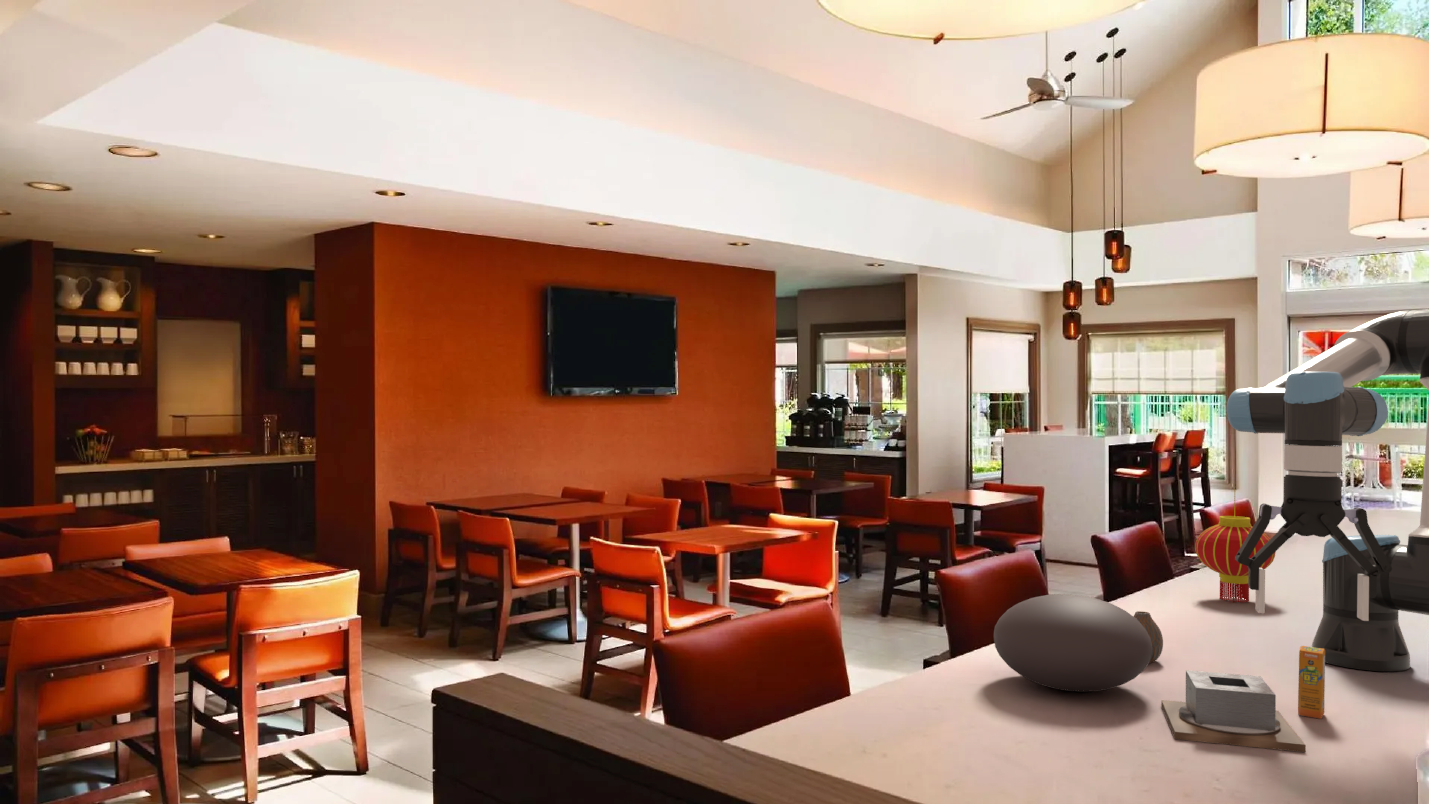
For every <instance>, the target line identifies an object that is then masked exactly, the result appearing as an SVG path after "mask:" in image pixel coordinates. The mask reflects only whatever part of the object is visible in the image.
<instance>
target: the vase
mask: <svg viewBox="0 0 1429 804" xmlns="http://www.w3.org/2000/svg"><path fill="white" fill-rule="evenodd" d="M1132 616H1133V617H1135V618H1136V619H1137V620H1138V621H1139V622H1140V623H1141V625H1142V626H1143V627H1144V628H1145V629H1146V631H1147V633H1148V635H1149V637H1150V638H1151V643H1152V653H1151V659H1150V662H1149V663H1148V664H1152V663H1155V662H1156V661H1157V660H1158V659H1159V658H1160V656H1161V654H1162V652H1163V648H1164V638H1163V634H1162V631H1161V629H1160V627H1159V626H1158V625H1157V623H1156V622H1155V620H1154V619H1153V617H1152V615H1151V613H1150V612H1148V611H1144V610H1143V611H1142V610H1141V611H1140V610H1139V611H1138V610H1137V611H1135V613H1134V614H1133V615H1132Z"/></svg>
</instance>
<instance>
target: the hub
mask: <svg viewBox="0 0 1429 804" xmlns="http://www.w3.org/2000/svg"><path fill="white" fill-rule="evenodd" d="M1276 697H1277V696H1276V693H1275V692H1274V691H1273V690H1272V689H1271V687H1270V686H1269V685H1268V683H1266V681H1265V680H1264V679H1263V678H1262V677H1261V676H1260V675H1249V674H1236V673H1227V672H1226V673H1224V672H1214V671H1213V672H1211V671H1202V670H1201V671H1200V670H1199V671H1198V670H1189V669H1188V670H1185V702H1186V705H1185V706H1182V707H1181V708H1180V709H1179V717H1180V718H1181V719H1182V720H1184V721H1185V722H1187V723H1189V724H1191V725H1194V726H1197V727H1200V728H1203V729H1207V730H1211V731H1216V732H1221V733H1227V734H1235V735H1248V736H1259V735H1269V734H1274V733H1276V732H1278V731H1279V730H1280V722H1279V721H1278V720H1277V719H1276V718H1275V714H1276V711H1277V710H1276V709H1277V708H1276V706H1277V705H1276V702H1277V701H1276V699H1277V698H1276Z"/></svg>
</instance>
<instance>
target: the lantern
mask: <svg viewBox="0 0 1429 804" xmlns="http://www.w3.org/2000/svg"><path fill="white" fill-rule="evenodd" d="M1233 497H1234V506H1233V507H1234V511H1233V512H1234V513H1233V514H1234V515H1220V516H1219V518H1218V519H1219V522H1218V524H1215V525H1212V526H1209V527H1208V528H1205V530H1203V531H1202V532H1201V533H1200V534H1199V535H1198V537H1197V538H1196V541H1195V543H1194V549H1195V553H1196V554H1195V555H1196V556H1197V557H1198V559H1199V561H1200V562H1201V563H1202V564H1204V566H1206V567H1207V568H1208V569H1210V570H1212V571H1213V572H1216V573H1218V575H1219V600H1220V599H1222V600H1223V601H1224V600H1225V601H1226V600H1227V601H1228V600H1229V602H1230V601H1232V602H1233V601H1234V603H1235V602H1237V603H1238V602H1239V603H1240V602H1241V603H1242V600H1243V599H1242V598H1244V600H1243V603H1244V602H1245V603H1246V602H1247V601H1249V602H1250V588H1249V585H1248V567H1247V566H1246V565H1243V564H1240V563H1239V562H1237V561H1236V560H1235V556H1236V555H1237V553H1238V551H1239V549H1240V548H1241V546H1242V544H1243V543H1244V541H1245V539H1246V537H1247V536H1248V534H1249V532H1250V531H1251V529H1252V527H1253V526H1252V524H1251V518H1250V517H1247V516H1246V517H1245V516H1238V515H1237V516H1236V490H1234V496H1233ZM1270 539H1271V538H1270V537H1269V536H1268V534H1267V533H1265V532H1264V533H1263V535H1262V536H1261V538H1260V540H1259V541H1258V543H1257V545H1256V547H1255V548H1254V550H1253V552H1252V553H1251V555H1250V557H1249V558H1252V557H1253V556H1254V555H1255V554H1256V553H1257V552H1258V551H1259V550H1260V549H1261V548H1262V547H1263V546H1264V545H1265V544H1266V543H1267V542H1268V541H1269V540H1270ZM1276 553H1277V551H1276V552H1275V553H1274V554H1273V555H1272V556H1270V557H1269V558H1268V559H1267V560H1266V561H1265V562H1264V563H1263V564H1262V565H1261V566H1260V567H1259V568H1262V569H1264V570H1266V569H1267V568H1269V566H1271V565H1272V563H1273V562H1274V560H1275V557H1276ZM1223 597H1224V598H1223ZM1225 597H1226V598H1225ZM1227 597H1228V598H1227ZM1232 597H1233V598H1232ZM1234 597H1235V598H1234ZM1237 597H1238V599H1237ZM1239 598H1240V599H1239ZM1245 599H1246V600H1245ZM1222 600H1221V601H1222ZM1247 603H1248V602H1247Z"/></svg>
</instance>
